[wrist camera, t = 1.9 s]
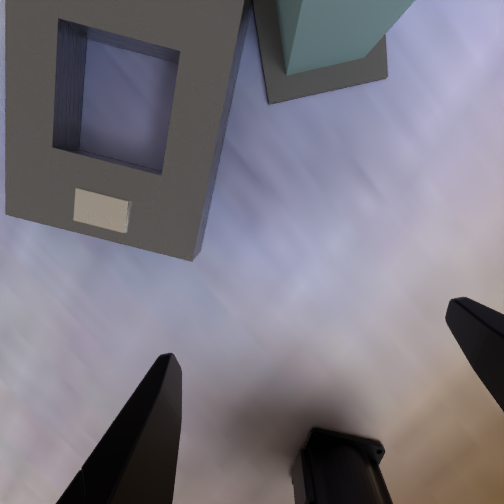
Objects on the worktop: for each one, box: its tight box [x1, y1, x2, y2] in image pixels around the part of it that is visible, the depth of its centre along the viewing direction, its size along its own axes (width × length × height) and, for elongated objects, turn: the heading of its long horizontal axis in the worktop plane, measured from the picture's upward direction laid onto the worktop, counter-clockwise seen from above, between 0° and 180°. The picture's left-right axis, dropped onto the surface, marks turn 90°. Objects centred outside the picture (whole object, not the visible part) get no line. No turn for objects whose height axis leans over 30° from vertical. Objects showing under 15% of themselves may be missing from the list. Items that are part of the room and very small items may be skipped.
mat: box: [252, 0, 388, 105], centre depth 16 cm, size 7×7×1 cm
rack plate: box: [6, 0, 252, 261], centre depth 17 cm, size 12×16×3 cm
